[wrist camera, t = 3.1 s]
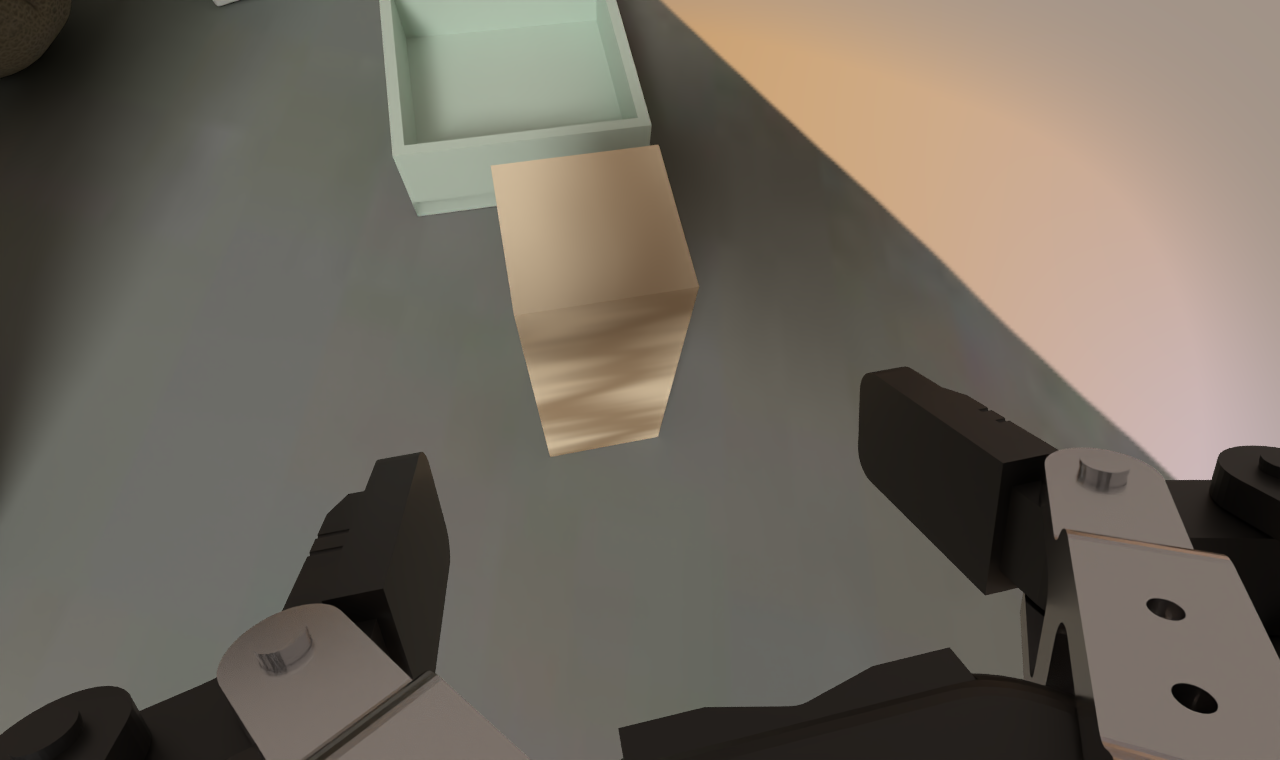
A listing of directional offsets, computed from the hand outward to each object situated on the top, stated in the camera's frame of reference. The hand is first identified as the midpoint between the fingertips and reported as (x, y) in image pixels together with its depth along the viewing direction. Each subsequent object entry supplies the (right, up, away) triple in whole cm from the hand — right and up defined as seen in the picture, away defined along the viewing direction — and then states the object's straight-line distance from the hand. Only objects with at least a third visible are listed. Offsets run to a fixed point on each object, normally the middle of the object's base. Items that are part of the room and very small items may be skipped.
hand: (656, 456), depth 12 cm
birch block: (-2, +1, +16) cm, 16 cm away
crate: (-7, +15, +21) cm, 27 cm away
